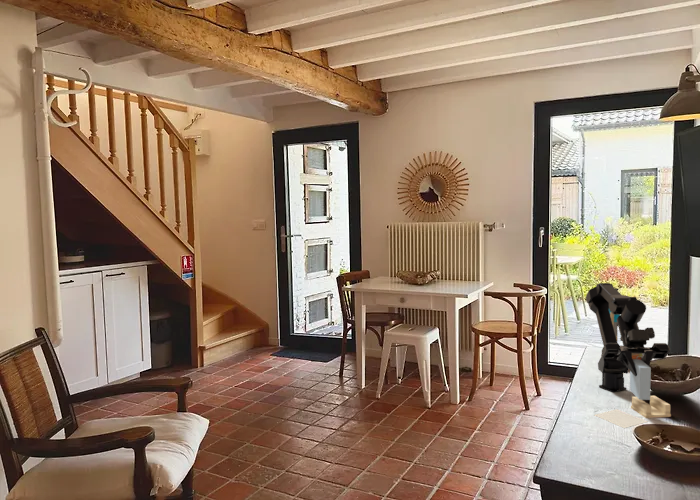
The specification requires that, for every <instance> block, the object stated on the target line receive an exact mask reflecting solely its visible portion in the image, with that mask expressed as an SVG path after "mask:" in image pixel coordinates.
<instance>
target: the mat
mask: <svg viewBox="0 0 700 500" xmlns="http://www.w3.org/2000/svg"><path fill="white" fill-rule="evenodd" d="M594 416H595V417H598V418H600V419H602V420H604V421H606V422H610V423H612V424H614V425H616V426H619V427H620V428H623V429H626V428H630V427H634V426H638V425H642V424H644V423H648V422H649V421H647V420H645V419H643V418H640V417H637V416H635V415H633V414H630V413H627V412H625V411H622V410H620V409H617V408H616V409H612V410H608V411H605V412H601V413H597V414H594Z"/></svg>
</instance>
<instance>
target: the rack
mask: <svg viewBox="0 0 700 500" xmlns="http://www.w3.org/2000/svg"><path fill="white" fill-rule="evenodd" d="M630 409H632V410H633V411H635V412H636V413H637V414H639V415H641V416H642V417H643V418H645V419H649V418H650V419H651V418H669V417H672V414H671V404H670V403H668V402H666V401H665V400H663V399H661V398H659V397H658V396H656V395H650V400H649V403H648V402H646V401H645V400H639V399H638V398H637V397H636V396H631V405H630Z"/></svg>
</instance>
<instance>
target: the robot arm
mask: <svg viewBox="0 0 700 500" xmlns="http://www.w3.org/2000/svg"><path fill="white" fill-rule="evenodd" d="M615 288H616V287H614V285H613V283H611V282H600V283H597V284H596V285H595V286H594V287H592V288H590V289H588V292H587V293H586V295H585V300H586V303H587V304H588V305H587V306H588V307H589V310H590V311H591V312H593V314H595V315H596V316H595V317H596V319H597V325H598V328H599V332H600V337H601V340H602V341H601V342H602V345H603V347H602V349H601V355H600V359H599V361H598V362H597V367H598V370H599V372H600V373H601V374H602V375H601V384H599V385H598V387H599V388H601V389H603V390H606V391H609V392H611V393H616V392H621V391H625V390H627V387H625V377H624V374H628V372H630V371H631V372H632V373H633V374H634V376H637V372H636V368H635V365H634V362H633V359H632V353H637V354H642V356H643V357H642V359H641V360H642V361H643V362H644V363H646V364H647V365H648V366H649V367H651V361H652V360H653V359H654V360H664V359H666V358H667V356H668V355H669V354H670V352H671V348H670V346H669V344H668V343H666V342H653V344H652V346H650V347H649V346H647V343H648V341H650V339H655V337H656V335H655V334H656V333H655V330H654V328H653V327H646V328H644V329H640V327H639V324H638V323H640V322H641V319H643V316H644V314H646V310H647V307H646V304H645V303H644V302H643V301H641V300H639V299H637V298H638V297H637V296H628V295H625V294H622V293H620V292H619V290H618V291H617V290H616V289H615ZM609 310H610V311H611V312H612V314H614V315H620V316H619V317H618V318H617V326H618V329H619V330H618V331H619V334H620V338H619V340H620V342H622V345H620V343H618V340H617V339H618V338H617V339H616V335H615V331H614V328H613V324H612V320H611V316H610V313H609ZM645 346H647V347H645Z"/></svg>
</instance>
